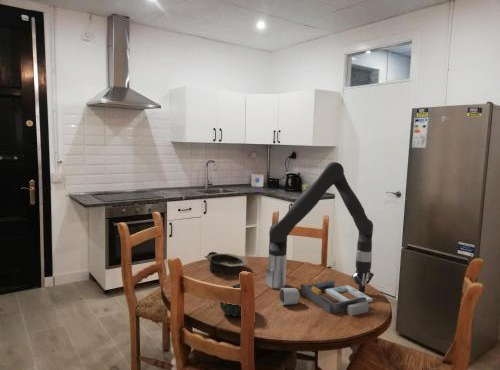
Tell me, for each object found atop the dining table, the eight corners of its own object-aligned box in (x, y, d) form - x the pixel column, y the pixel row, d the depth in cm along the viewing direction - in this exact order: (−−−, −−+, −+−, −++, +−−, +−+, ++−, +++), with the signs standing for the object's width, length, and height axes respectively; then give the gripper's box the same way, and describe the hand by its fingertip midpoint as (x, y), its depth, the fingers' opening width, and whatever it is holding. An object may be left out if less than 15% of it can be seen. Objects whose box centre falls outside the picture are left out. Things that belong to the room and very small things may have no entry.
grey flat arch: (324, 288, 195) (348, 284, 201) (324, 292, 195) (348, 288, 201) (347, 302, 178) (372, 297, 184) (347, 307, 178) (372, 302, 184)
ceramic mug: (300, 306, 177) (301, 290, 177) (284, 307, 175) (284, 291, 174) (291, 297, 187) (292, 282, 187) (275, 299, 185) (276, 283, 184)
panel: (351, 316, 169) (351, 307, 168) (347, 314, 171) (347, 305, 170) (368, 312, 173) (368, 303, 173) (364, 310, 175) (364, 301, 175)
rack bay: (330, 313, 170) (331, 298, 169) (300, 293, 192) (301, 280, 191) (365, 306, 179) (366, 291, 178) (332, 287, 201) (333, 274, 200)
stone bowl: (195, 271, 220) (196, 255, 220) (223, 263, 241) (224, 248, 240) (230, 280, 206) (231, 263, 206) (255, 271, 227) (256, 255, 226)
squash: (214, 295, 173) (223, 279, 163) (245, 292, 180) (255, 276, 169) (221, 326, 165) (231, 310, 155) (253, 321, 171) (264, 306, 161)
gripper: (368, 255, 198) (366, 287, 200) (348, 258, 192) (346, 291, 194) (379, 259, 191) (377, 292, 193) (358, 262, 185) (356, 297, 188)
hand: (361, 292), depth 194 cm, fingers closed
